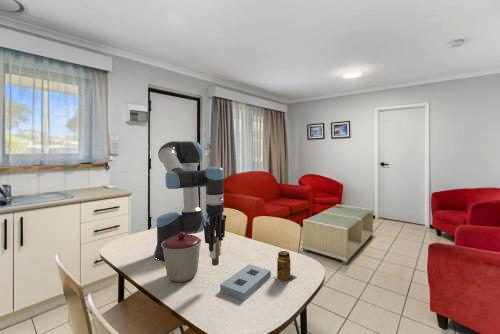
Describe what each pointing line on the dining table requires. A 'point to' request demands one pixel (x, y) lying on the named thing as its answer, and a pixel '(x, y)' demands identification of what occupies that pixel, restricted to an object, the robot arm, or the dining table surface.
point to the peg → (216, 251)
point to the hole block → (245, 281)
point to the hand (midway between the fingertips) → (215, 256)
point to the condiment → (284, 267)
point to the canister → (181, 256)
